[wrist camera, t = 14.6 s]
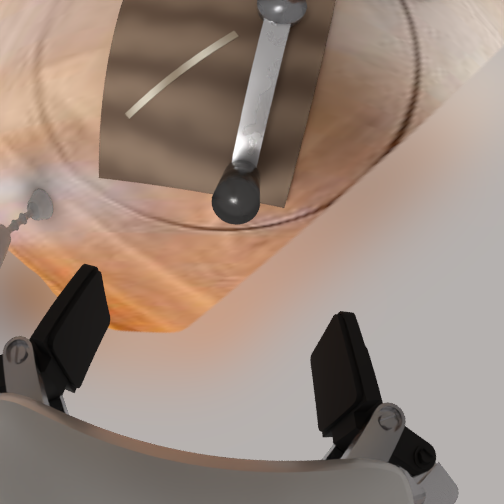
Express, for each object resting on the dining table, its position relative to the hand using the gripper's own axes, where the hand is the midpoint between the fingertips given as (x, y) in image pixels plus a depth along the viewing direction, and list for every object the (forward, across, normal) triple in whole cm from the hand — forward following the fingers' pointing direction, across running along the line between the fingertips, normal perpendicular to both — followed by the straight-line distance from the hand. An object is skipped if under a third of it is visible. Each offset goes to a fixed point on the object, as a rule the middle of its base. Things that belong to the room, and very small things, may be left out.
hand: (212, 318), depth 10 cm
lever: (+20, 0, -9) cm, 22 cm away
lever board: (+22, +6, -10) cm, 25 cm away
